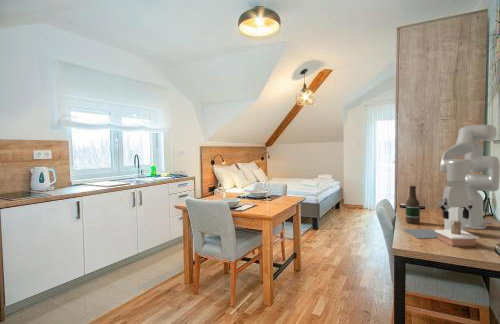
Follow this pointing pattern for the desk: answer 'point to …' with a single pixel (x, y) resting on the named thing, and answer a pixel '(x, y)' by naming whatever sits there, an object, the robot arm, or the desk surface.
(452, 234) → the cover
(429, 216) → the desk surface
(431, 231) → the mat
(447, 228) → the milk carton
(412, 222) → the beer bottle
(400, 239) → the desk surface
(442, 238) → the terracotta square tray
